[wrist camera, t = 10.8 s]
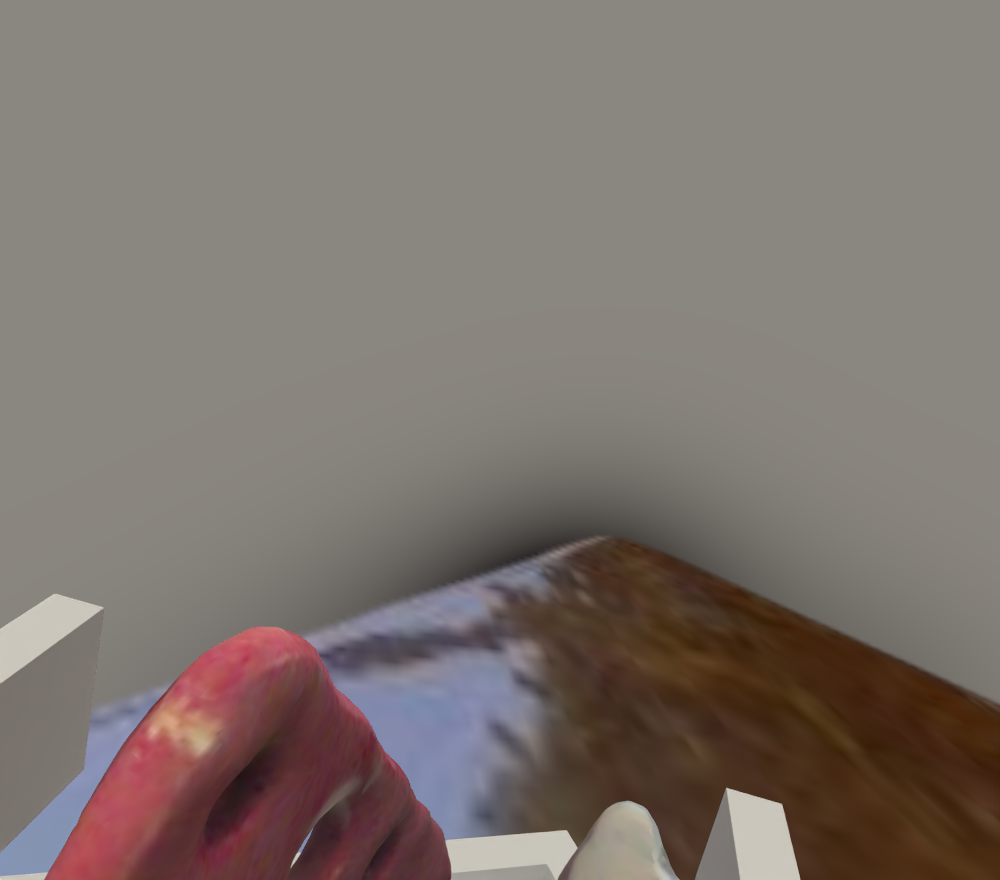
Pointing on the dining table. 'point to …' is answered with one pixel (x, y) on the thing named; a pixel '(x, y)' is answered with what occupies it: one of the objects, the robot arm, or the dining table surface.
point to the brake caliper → (285, 788)
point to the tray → (488, 857)
